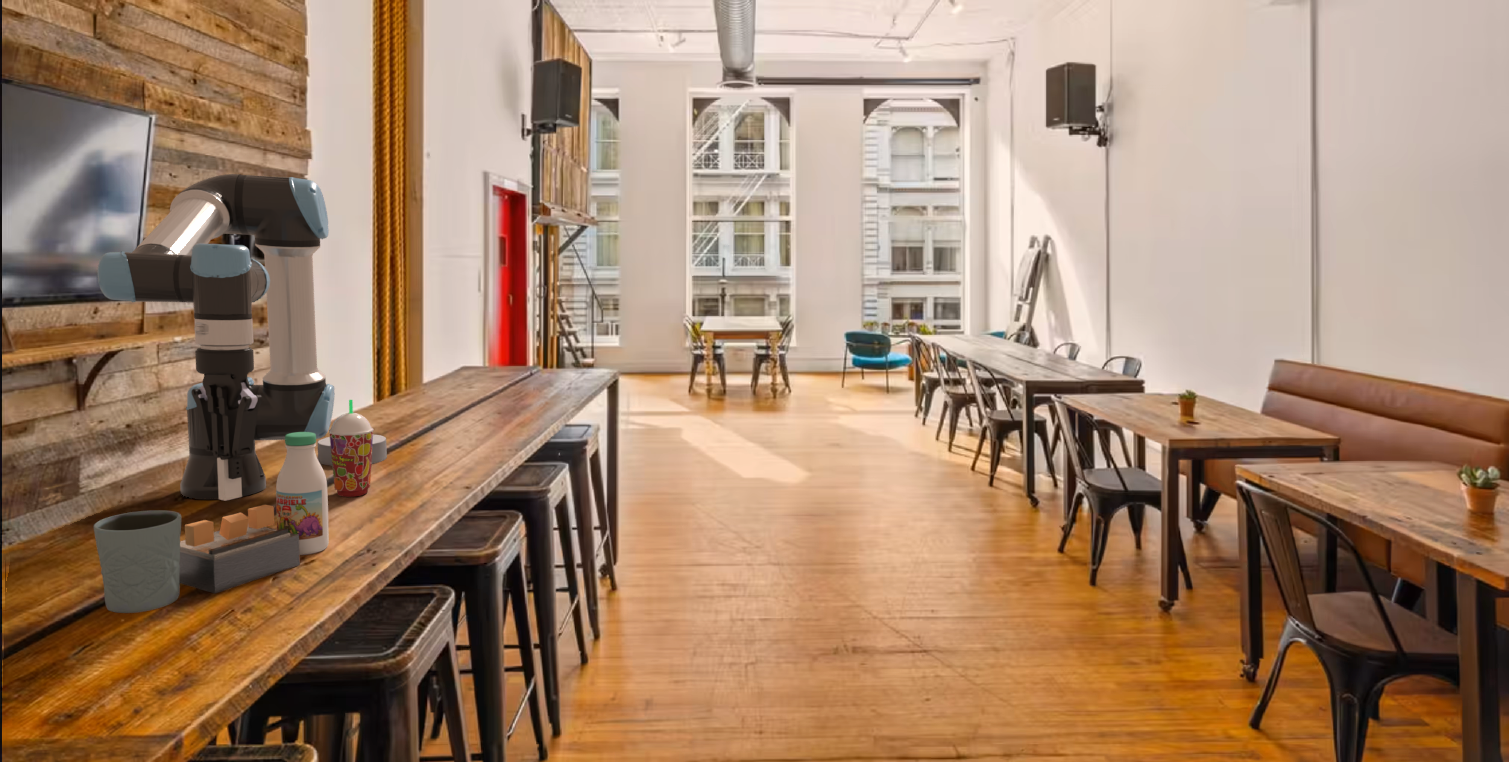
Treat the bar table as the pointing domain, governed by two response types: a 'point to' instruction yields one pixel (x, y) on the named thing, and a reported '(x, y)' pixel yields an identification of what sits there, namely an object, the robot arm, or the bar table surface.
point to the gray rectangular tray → (237, 559)
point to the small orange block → (234, 526)
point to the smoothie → (351, 453)
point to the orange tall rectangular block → (199, 533)
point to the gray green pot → (139, 559)
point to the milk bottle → (303, 494)
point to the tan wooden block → (261, 516)
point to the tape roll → (377, 450)
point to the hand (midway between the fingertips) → (230, 497)
